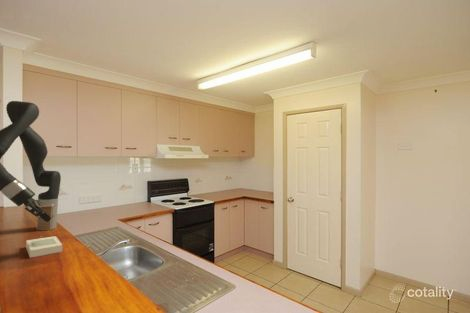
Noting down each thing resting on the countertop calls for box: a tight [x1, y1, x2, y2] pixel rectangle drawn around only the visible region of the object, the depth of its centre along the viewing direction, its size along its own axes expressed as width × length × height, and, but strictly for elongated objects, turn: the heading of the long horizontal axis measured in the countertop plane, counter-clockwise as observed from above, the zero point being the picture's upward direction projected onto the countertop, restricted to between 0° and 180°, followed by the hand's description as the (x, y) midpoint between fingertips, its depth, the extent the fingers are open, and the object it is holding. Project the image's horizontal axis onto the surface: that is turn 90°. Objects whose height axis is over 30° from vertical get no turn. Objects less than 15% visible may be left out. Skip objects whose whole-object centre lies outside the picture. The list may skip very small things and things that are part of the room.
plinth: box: [25, 235, 63, 259], centre depth 111 cm, size 16×11×3 cm
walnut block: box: [36, 205, 53, 231], centre depth 111 cm, size 5×5×10 cm
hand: (50, 219), depth 112 cm, fingers closed on walnut block, 4 cm apart
